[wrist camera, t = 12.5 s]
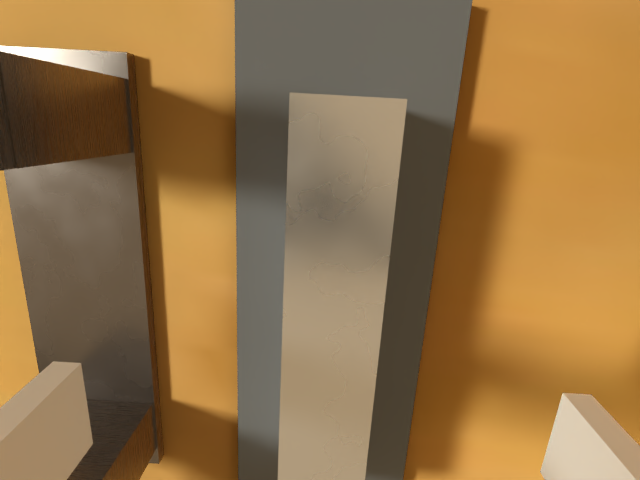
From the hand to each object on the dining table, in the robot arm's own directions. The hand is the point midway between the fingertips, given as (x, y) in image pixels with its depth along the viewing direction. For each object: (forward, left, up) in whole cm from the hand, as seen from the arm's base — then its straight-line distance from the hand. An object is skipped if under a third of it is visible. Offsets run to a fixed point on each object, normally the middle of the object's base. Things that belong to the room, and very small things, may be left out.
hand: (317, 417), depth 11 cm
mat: (0, 0, -9) cm, 9 cm away
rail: (0, 0, -8) cm, 8 cm away
